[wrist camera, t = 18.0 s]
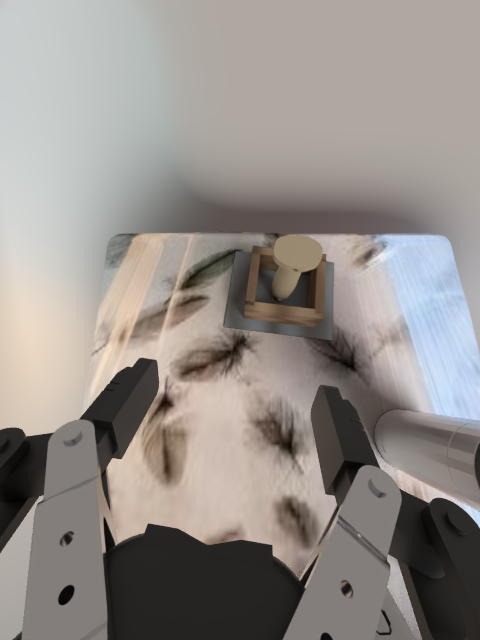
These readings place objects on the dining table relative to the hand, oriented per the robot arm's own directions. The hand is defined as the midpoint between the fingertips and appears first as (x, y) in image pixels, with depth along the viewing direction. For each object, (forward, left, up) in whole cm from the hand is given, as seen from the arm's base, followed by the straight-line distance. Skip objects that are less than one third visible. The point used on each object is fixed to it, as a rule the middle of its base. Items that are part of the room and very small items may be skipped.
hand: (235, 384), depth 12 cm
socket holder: (-6, -18, -31) cm, 36 cm away
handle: (-6, -18, -30) cm, 36 cm away
